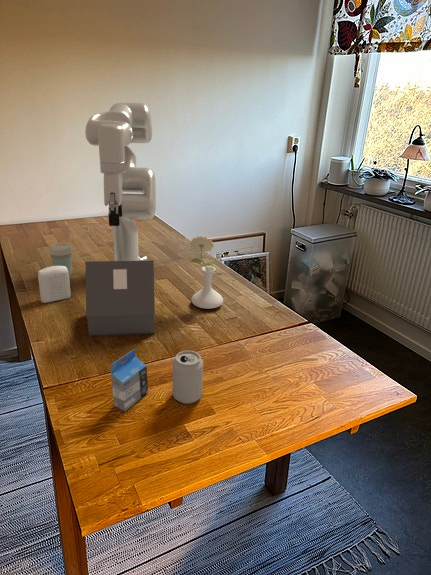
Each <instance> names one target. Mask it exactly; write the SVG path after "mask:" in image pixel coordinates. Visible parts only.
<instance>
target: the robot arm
mask: <svg viewBox="0 0 431 575" xmlns="http://www.w3.org/2000/svg"><path fill="white" fill-rule="evenodd" d="M152 124H153V123H152V117H151V112H150V109H149V108H148V106H147V105H146V104H145V103H139V102H116V103H114V104H112V105H111V107H110V108H109V111H104V112H100V113H97V114H96V113H95V114H94V115H91V117H89V119H88V121H87V122H86V126H85V138H86V141H87V142H88V143H89V145H92V146H93V147H94V146H98V155H99V169H100V173H101V174H103V201H104V202H103V205H104V206H105V207H107V206H108V215H107V217H108V226H110V227H112V230H113V231H112V232H113V248H114V261H148V257H147V256H142V257H140V255H139V254H140V253H139V230H138V226H137V225H136V223H135V222H134V221H133V220H150V219H153V218H154V217H155V215H156V209H157V208H156V206H157V202H156V201H157V200H156V196H157V195H156V194H157V193H156V189H157V188H156V187H157V186H156V175H155V173H154V171H153V170H152V169H151V168H148V167H137V156H136V154H135V153H134V152H133V150H132V148H130V147H129V145H130V144H148V143H150V142H151V140H152V138H153V125H152Z"/></svg>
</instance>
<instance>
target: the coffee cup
mask: <svg viewBox="0 0 431 575" xmlns="http://www.w3.org/2000/svg"><path fill="white" fill-rule="evenodd" d="M48 253H49V255H50V258H51V263H52V266H66V267H67V270H68V273H69V278H70V277H71V276H72V253H73V249H72V247H71V245H70V244H67V243H55V244H52V245H50V247H49V250H48Z"/></svg>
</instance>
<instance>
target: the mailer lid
mask: <svg viewBox="0 0 431 575" xmlns="http://www.w3.org/2000/svg"><path fill="white" fill-rule="evenodd" d="M84 266H85V316H86V318H87V317H89V316H119V315H150V314H154V315H155V314H156V311H155V310H156V309H155V308H156V307H155V305H156V304H155V303H156V302H155V269H154V268H155V267H154V260H152V259H151V260H147V261H115V260H108V261H107V260H98V261H96V260H95V261H85V264H84Z"/></svg>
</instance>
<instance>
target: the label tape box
mask: <svg viewBox="0 0 431 575" xmlns="http://www.w3.org/2000/svg"><path fill="white" fill-rule="evenodd" d="M136 350H137V348H135V349H132V350H130V351H129V352H128V353H126V354H125V355H123V356H122V357H120V358H118V359H117V360H115V361H114V362H113V363H112V364H110V378H111V379H110V380H111V388H112V396H113V407H114V408H115V407H116V408H117V409H119V410H121V411H124V412H127V411H128V410H129V409H131V407H132V406H134V405H135V404H136V403H137V402H139V401H140V400H141V399H142V398H144V397H145V396H146V394H148V393H149V383H148V382H149V380H148V367H147V365H146V364H145V363H144V362H143V361H141V359H139V357H137V356H136V353H137V351H136ZM124 360H125V361H124Z"/></svg>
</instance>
